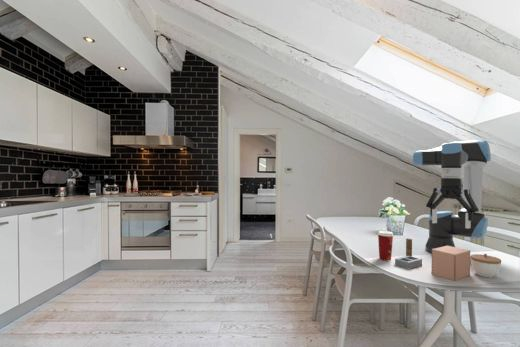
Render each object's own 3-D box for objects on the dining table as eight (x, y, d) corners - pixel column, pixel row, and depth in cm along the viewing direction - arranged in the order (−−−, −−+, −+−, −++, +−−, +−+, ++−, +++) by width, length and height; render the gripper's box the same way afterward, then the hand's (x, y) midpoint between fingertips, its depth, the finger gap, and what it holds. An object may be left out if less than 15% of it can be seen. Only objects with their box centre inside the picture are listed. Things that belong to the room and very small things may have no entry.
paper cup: (395, 261, 143) (395, 234, 143) (378, 260, 145) (379, 233, 144) (391, 257, 151) (391, 231, 151) (375, 256, 152) (376, 230, 152)
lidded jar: (507, 280, 119) (507, 258, 119) (478, 278, 121) (479, 256, 121) (491, 271, 130) (491, 251, 130) (465, 270, 131) (465, 250, 131)
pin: (407, 256, 152) (408, 238, 152) (412, 258, 150) (413, 239, 150) (404, 257, 150) (405, 238, 150) (409, 258, 148) (410, 239, 148)
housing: (446, 268, 133) (447, 245, 133) (469, 275, 125) (470, 250, 125) (431, 273, 126) (431, 249, 126) (454, 280, 118) (455, 254, 118)
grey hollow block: (408, 261, 144) (408, 255, 144) (421, 265, 138) (422, 259, 138) (395, 264, 138) (395, 258, 138) (408, 269, 132) (408, 262, 132)
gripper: (418, 177, 134) (417, 221, 134) (480, 178, 113) (479, 231, 113) (427, 177, 138) (426, 220, 138) (488, 178, 117) (488, 229, 117)
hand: (450, 225), depth 125 cm, fingers open, 13 cm apart
